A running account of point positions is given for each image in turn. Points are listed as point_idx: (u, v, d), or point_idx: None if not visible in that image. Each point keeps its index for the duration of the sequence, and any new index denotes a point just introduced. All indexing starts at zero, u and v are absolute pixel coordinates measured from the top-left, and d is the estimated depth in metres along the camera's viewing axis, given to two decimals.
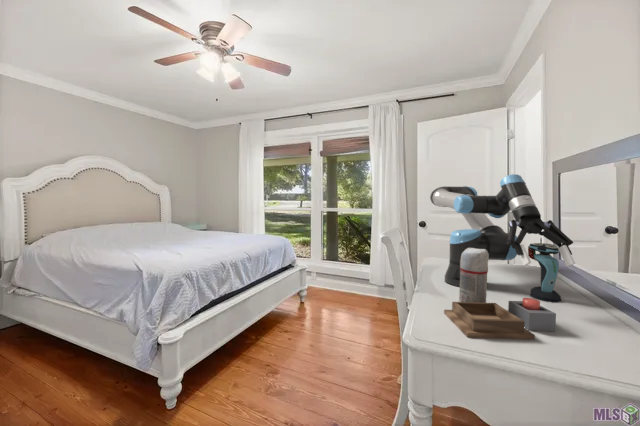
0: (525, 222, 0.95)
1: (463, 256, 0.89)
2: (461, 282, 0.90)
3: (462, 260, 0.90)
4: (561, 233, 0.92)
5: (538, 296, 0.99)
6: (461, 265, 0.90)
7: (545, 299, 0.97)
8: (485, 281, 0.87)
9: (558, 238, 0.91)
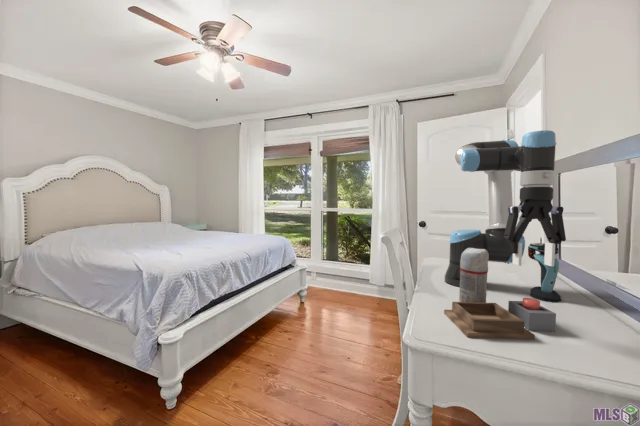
0: (529, 206, 0.76)
1: (463, 256, 0.89)
2: (461, 282, 0.90)
3: (462, 260, 0.90)
4: (561, 226, 0.76)
5: (538, 296, 0.99)
6: (461, 265, 0.90)
7: (545, 299, 0.97)
8: (485, 281, 0.87)
9: (553, 233, 0.76)
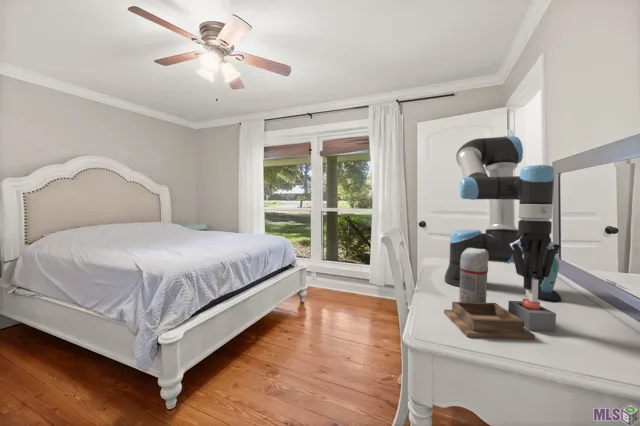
0: (527, 238, 0.77)
1: (463, 256, 0.89)
2: (461, 282, 0.90)
3: (462, 260, 0.90)
4: (550, 262, 0.77)
5: (538, 296, 0.99)
6: (461, 265, 0.90)
7: (545, 299, 0.97)
8: (485, 281, 0.87)
9: (540, 268, 0.77)
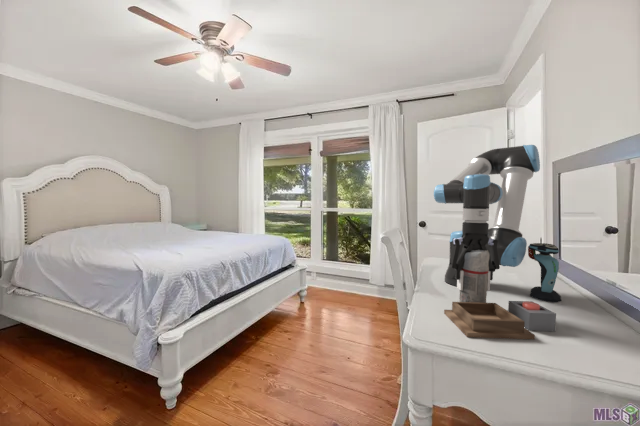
0: (468, 238, 0.88)
1: None
2: None
3: None
4: (495, 256, 0.88)
5: (538, 296, 0.99)
6: None
7: (545, 299, 0.97)
8: (485, 281, 0.87)
9: None
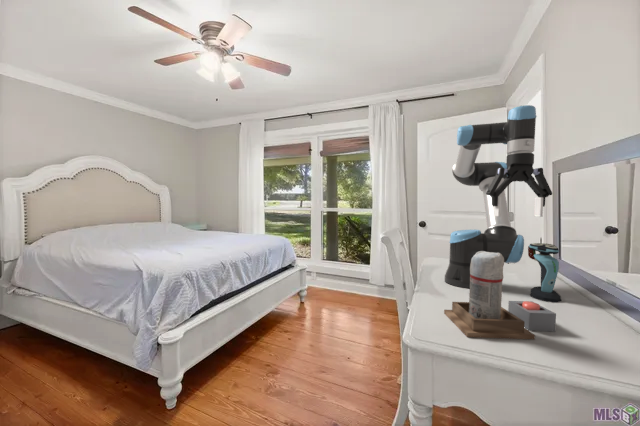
0: (514, 170, 0.91)
1: (474, 261, 0.76)
2: (471, 291, 0.77)
3: (472, 266, 0.77)
4: (545, 183, 0.90)
5: (538, 296, 0.99)
6: (471, 271, 0.77)
7: (545, 299, 0.97)
8: (500, 290, 0.74)
9: (539, 189, 0.90)
